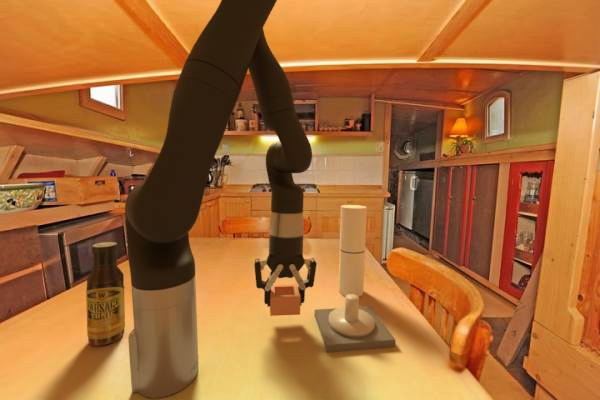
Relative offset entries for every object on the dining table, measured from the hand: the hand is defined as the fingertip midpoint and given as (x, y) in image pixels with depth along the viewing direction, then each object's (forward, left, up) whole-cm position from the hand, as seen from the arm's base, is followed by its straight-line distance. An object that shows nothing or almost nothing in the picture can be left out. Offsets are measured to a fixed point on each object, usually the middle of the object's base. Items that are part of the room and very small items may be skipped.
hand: (284, 304), depth 59 cm
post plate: (+15, -4, -5) cm, 16 cm away
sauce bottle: (-36, -1, -5) cm, 37 cm away
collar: (0, 0, -1) cm, 1 cm away
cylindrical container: (+21, +14, -5) cm, 25 cm away
